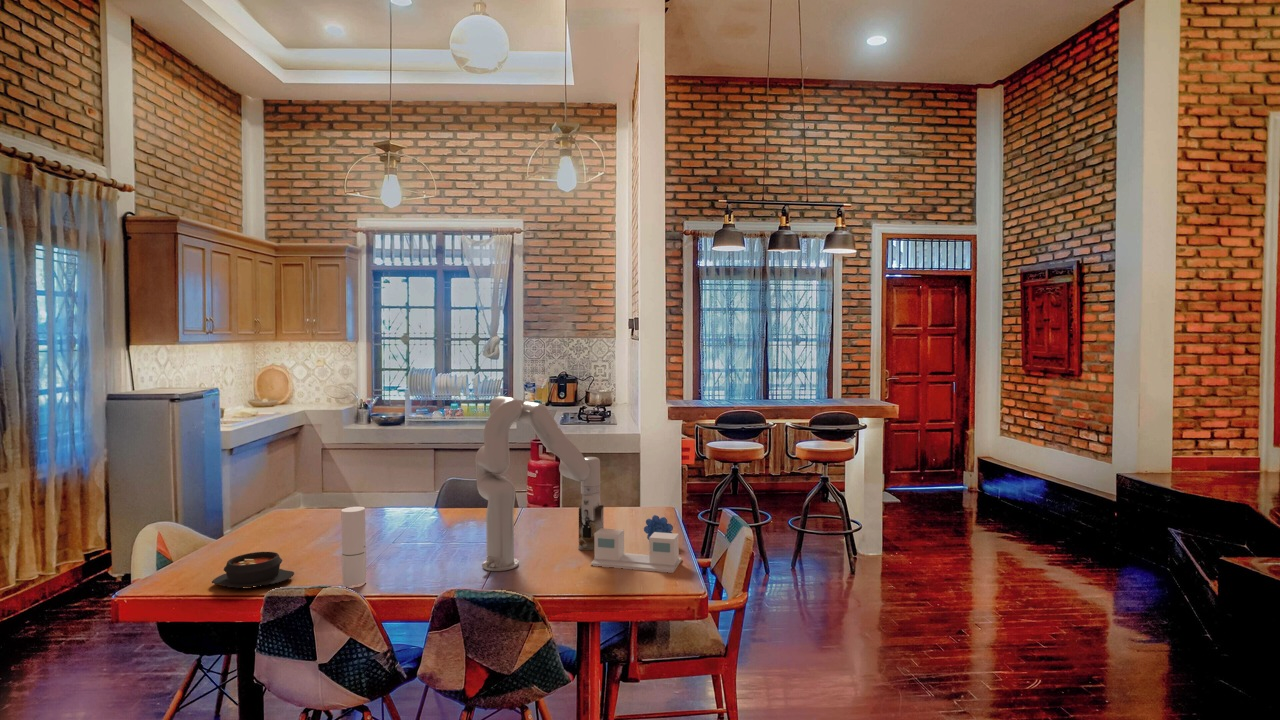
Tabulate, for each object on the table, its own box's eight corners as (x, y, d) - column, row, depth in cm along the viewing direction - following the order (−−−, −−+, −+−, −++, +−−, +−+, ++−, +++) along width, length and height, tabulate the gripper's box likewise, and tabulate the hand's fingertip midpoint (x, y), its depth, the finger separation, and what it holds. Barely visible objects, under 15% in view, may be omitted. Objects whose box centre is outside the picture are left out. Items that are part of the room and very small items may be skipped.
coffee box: (577, 550, 255) (577, 508, 255) (581, 545, 262) (580, 504, 261) (601, 550, 254) (601, 508, 254) (604, 545, 261) (603, 504, 260)
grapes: (644, 549, 255) (644, 518, 255) (643, 544, 262) (643, 513, 262) (674, 548, 256) (674, 517, 255) (673, 543, 262) (673, 513, 262)
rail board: (673, 573, 229) (672, 542, 228) (590, 565, 237) (590, 536, 237) (681, 560, 242) (681, 531, 242) (603, 553, 250) (603, 525, 250)
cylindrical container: (369, 580, 224) (368, 506, 223) (361, 588, 217) (360, 511, 216) (347, 581, 224) (346, 506, 223) (339, 588, 216) (337, 512, 216)
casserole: (305, 573, 231) (305, 549, 231) (274, 593, 213) (273, 567, 213) (235, 573, 232) (234, 549, 232) (197, 593, 214) (197, 567, 214)
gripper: (592, 494, 248) (592, 541, 248) (607, 485, 265) (607, 529, 265) (573, 493, 250) (573, 540, 251) (589, 484, 267) (589, 527, 267)
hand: (591, 534), depth 258 cm, fingers open, 8 cm apart
